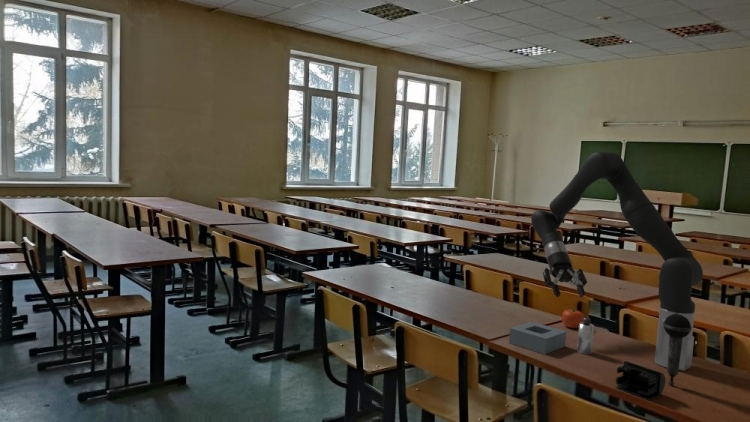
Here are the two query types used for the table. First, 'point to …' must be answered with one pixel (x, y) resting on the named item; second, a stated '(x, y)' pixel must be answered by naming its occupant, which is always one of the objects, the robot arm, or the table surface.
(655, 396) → the end cap
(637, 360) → the table surface
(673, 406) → the table surface
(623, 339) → the table surface
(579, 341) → the silver bottle
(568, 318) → the pumpkin
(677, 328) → the microphone
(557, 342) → the grey block with hole
